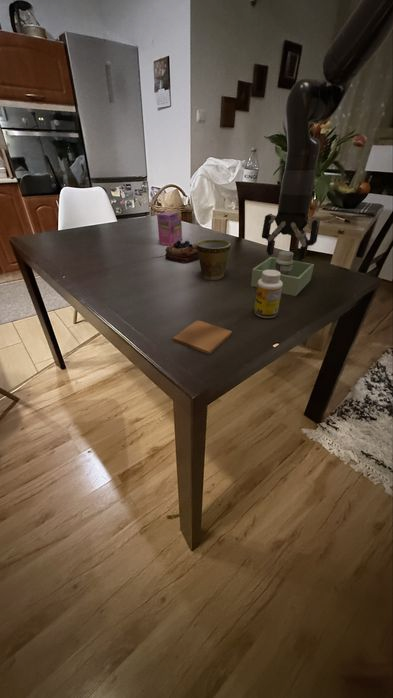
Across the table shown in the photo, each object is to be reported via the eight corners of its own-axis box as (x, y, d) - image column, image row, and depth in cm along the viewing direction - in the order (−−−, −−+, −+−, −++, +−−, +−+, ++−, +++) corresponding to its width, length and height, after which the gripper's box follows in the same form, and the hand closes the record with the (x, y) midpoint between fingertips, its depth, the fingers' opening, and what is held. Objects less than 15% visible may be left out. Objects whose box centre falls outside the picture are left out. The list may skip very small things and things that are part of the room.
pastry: (186, 264, 97) (185, 247, 94) (161, 258, 103) (159, 241, 100) (205, 256, 104) (205, 240, 101) (180, 251, 110) (179, 235, 107)
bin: (310, 280, 84) (314, 264, 81) (295, 296, 75) (299, 278, 72) (268, 272, 90) (270, 256, 87) (250, 286, 82) (252, 269, 79)
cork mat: (231, 334, 61) (232, 331, 60) (209, 355, 55) (209, 351, 54) (197, 322, 65) (197, 319, 64) (173, 340, 59) (172, 337, 58)
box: (171, 246, 116) (168, 214, 110) (159, 244, 118) (156, 214, 112) (182, 240, 124) (181, 210, 117) (171, 238, 126) (169, 209, 119)
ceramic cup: (232, 280, 85) (235, 246, 79) (200, 283, 83) (200, 249, 78) (220, 266, 95) (222, 235, 90) (192, 269, 94) (191, 237, 88)
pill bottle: (272, 278, 85) (276, 249, 80) (288, 278, 84) (293, 250, 79) (273, 284, 81) (278, 255, 76) (290, 285, 80) (296, 255, 75)
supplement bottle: (251, 308, 70) (256, 268, 64) (274, 308, 70) (280, 267, 64) (256, 319, 65) (261, 277, 60) (280, 319, 66) (287, 276, 60)
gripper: (330, 191, 68) (314, 258, 78) (274, 187, 75) (266, 249, 84) (322, 195, 63) (306, 266, 73) (263, 191, 70) (255, 256, 79)
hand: (284, 257), depth 79 cm, fingers open, 8 cm apart
